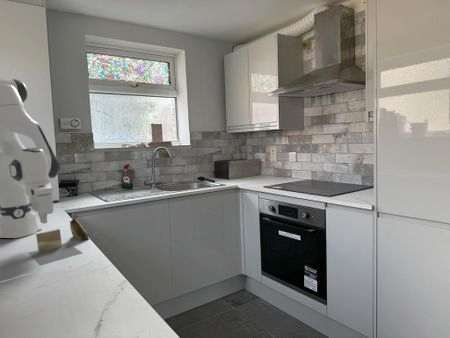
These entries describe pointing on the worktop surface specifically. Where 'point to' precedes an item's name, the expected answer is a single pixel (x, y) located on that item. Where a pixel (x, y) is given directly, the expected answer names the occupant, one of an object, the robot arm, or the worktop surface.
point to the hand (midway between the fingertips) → (44, 222)
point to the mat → (55, 254)
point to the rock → (78, 230)
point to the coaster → (49, 240)
